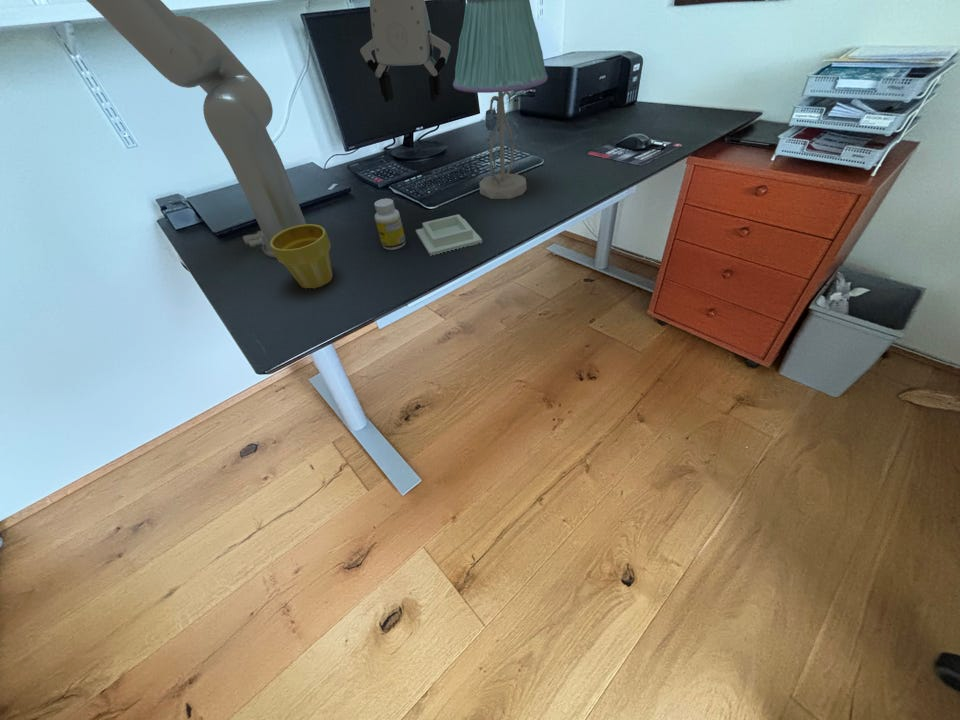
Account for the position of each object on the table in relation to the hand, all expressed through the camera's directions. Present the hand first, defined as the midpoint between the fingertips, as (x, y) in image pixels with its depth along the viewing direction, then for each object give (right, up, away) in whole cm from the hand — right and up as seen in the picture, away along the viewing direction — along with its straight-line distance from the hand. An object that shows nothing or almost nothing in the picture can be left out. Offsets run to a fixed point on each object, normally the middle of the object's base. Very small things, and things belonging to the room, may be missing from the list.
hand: (412, 100), depth 79 cm
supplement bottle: (-6, -25, +12) cm, 29 cm away
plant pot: (-20, -35, +3) cm, 41 cm away
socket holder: (+6, -24, +12) cm, 27 cm away
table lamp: (+20, -5, +30) cm, 36 cm away
